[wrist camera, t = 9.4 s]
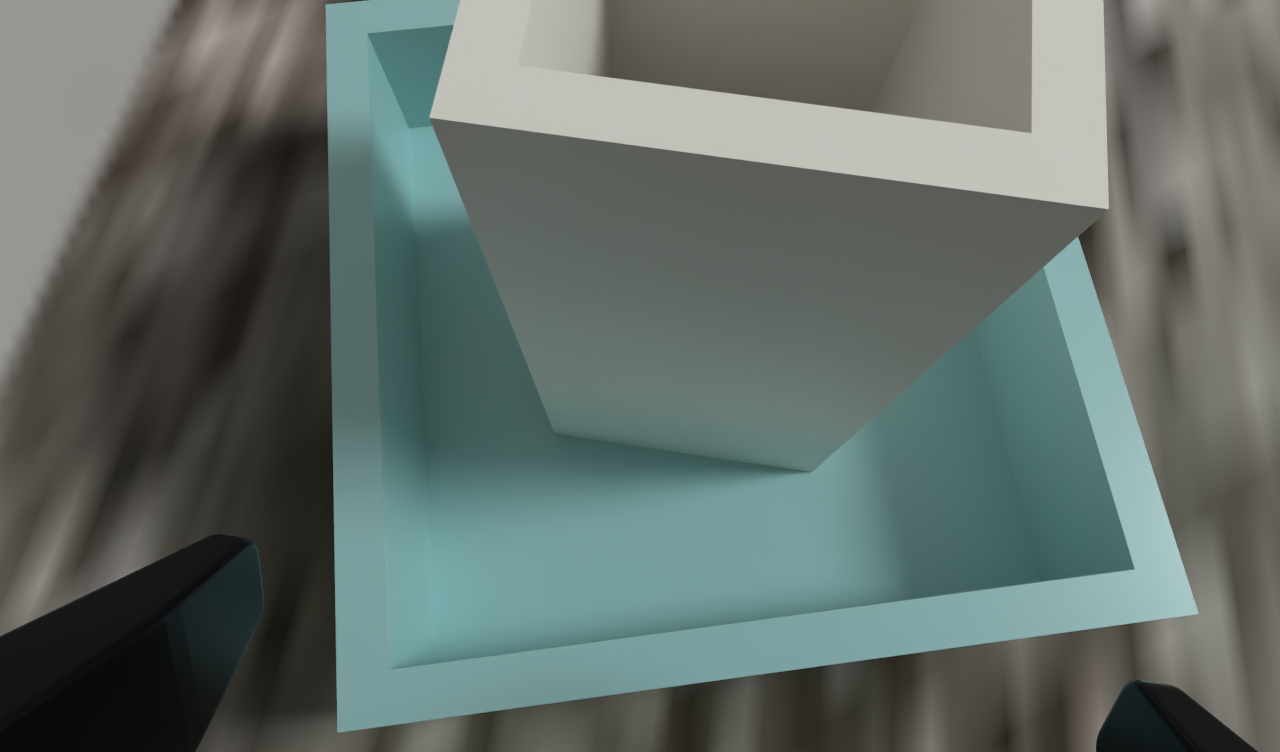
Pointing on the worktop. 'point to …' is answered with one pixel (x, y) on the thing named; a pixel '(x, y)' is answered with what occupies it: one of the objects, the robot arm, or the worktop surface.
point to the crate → (679, 470)
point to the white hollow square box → (764, 198)
